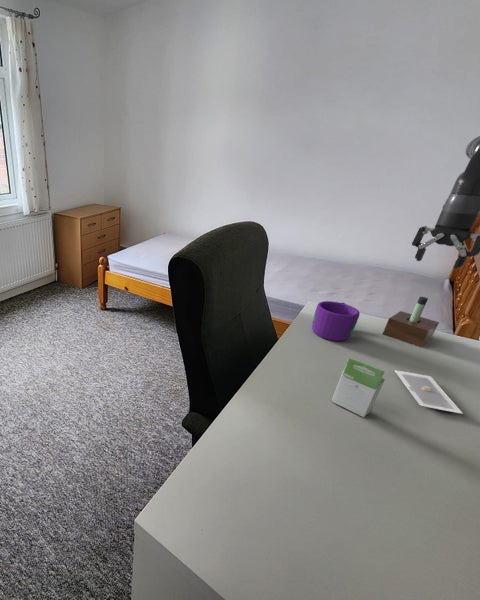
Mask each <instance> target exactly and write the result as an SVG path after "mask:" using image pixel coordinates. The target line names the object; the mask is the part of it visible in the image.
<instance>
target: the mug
mask: <svg viewBox="0 0 480 600" xmlns="http://www.w3.org/2000/svg"><path fill="white" fill-rule="evenodd" d="M360 315H361V314H360V311H359V310H358V308H356V307H354V306H352V305H349V304H346V303H345V302H338V301H332V300H325V301H320V302H319V303H317V304H316V308H315V311H314V315H313V320H312V324H311V329H312V332H313V333H314V334H315V335H317V336H318V337H320V338H322V339H325V340H328V341H332V342H343V341H346V340H348V339H349V338H350V337H351V336H352V334H353V332H354V330H355V328H356V326H357V323H358V320H359V317H360Z"/></svg>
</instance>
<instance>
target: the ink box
mask: <svg viewBox="0 0 480 600" xmlns="http://www.w3.org/2000/svg"><path fill="white" fill-rule="evenodd" d="M360 367H362V368H365V369H367V370H369V371H371V372H369V371H367V370H364V369H362V368H360ZM372 372H373V373H372ZM384 374H385V370H383V369H380V368H378V367H375V366H372V365H370V364H368V363H364V362H362V361H359V360H357V359H354V358H351V357H348V358H347V360H346V364H345V367H344V369H343V370H342V372H341V375H340V377H339V380H338V383H337V385H336V388H335V391H334V392H333V396H332V399H331V403H334V404H336V405H338V406H339V407H342V408H344V409H346V410H348V411H350V412H352V413H354V414H355V415H358V416H359V417H362V418H365V417H366V416H367V415H368V414H370V412H371V410H372V409H373V406H374V404H375V401H376V399H377V398H378V396H379V393H380V391H381V389H382V386H383V384H384V382H385V380H386V379H385V378H383V376H384Z"/></svg>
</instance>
